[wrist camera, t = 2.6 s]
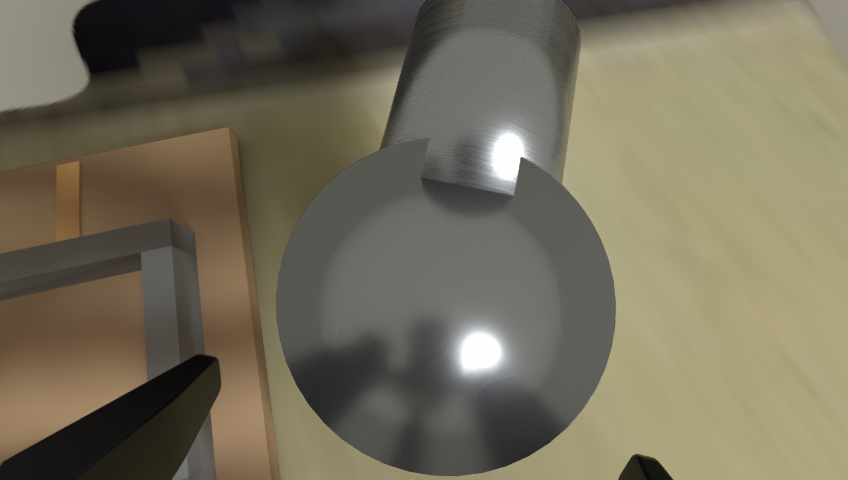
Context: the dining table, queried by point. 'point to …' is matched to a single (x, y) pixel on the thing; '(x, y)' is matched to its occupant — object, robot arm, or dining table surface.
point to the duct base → (133, 294)
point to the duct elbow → (456, 255)
